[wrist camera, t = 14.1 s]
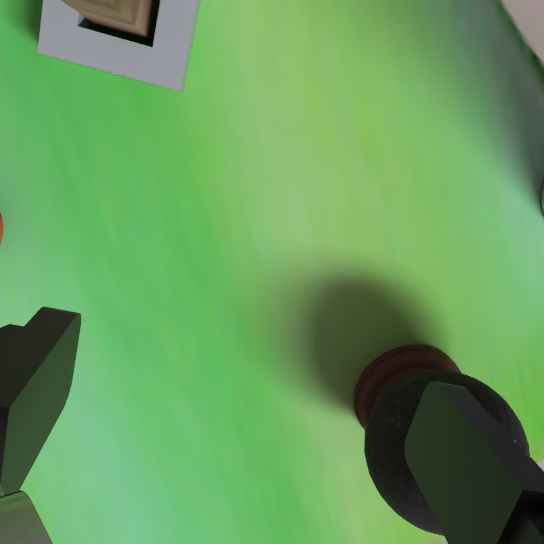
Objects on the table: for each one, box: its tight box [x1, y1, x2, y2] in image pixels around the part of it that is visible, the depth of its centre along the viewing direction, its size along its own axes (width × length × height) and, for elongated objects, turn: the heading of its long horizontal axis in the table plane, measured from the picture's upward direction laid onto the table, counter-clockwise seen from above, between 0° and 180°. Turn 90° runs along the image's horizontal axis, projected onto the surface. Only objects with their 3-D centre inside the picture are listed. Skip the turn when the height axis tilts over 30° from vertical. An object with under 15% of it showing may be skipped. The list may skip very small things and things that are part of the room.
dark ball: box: [354, 345, 530, 536], centre depth 43 cm, size 13×13×15 cm
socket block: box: [38, 0, 200, 93], centre depth 35 cm, size 10×10×3 cm
